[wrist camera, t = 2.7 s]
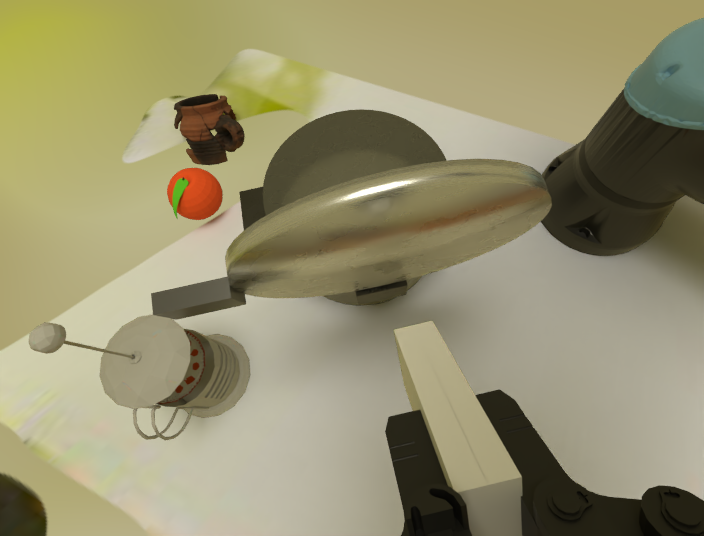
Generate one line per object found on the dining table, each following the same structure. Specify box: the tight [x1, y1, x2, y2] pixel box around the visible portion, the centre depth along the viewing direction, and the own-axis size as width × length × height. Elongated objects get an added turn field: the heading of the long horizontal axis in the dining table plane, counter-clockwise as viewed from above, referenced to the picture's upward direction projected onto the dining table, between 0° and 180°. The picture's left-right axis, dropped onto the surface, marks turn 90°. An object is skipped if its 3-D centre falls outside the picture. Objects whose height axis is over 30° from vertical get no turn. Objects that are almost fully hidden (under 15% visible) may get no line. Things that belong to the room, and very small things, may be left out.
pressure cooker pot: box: [240, 110, 446, 305], centre depth 45 cm, size 23×22×12 cm
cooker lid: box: [151, 159, 552, 319], centre depth 26 cm, size 26×21×2 cm
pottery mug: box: [174, 94, 244, 165], centre depth 56 cm, size 12×10×8 cm
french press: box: [29, 315, 250, 440], centre depth 34 cm, size 10×12×25 cm
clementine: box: [167, 168, 222, 220], centre depth 51 cm, size 8×7×7 cm
